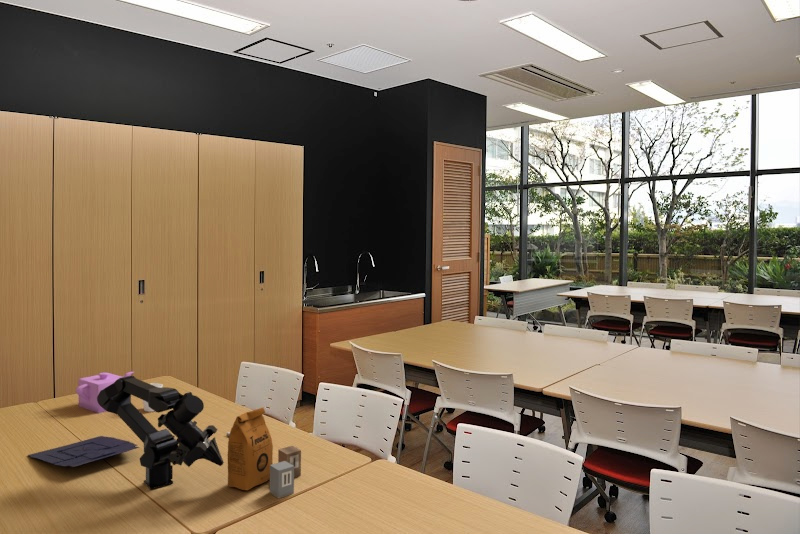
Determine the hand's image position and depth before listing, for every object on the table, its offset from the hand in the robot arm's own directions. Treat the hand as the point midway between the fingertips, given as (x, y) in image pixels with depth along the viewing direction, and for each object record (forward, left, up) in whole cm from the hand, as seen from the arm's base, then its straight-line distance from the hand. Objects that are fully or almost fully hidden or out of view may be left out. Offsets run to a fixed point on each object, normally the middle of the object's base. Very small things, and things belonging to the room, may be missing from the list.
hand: (222, 464), depth 170 cm
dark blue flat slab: (-24, +49, -8) cm, 55 cm away
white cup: (+10, +87, -7) cm, 88 cm away
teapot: (-3, +104, -7) cm, 104 cm away
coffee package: (+8, -2, -7) cm, 11 cm away
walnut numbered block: (+20, -4, -7) cm, 22 cm away
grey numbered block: (+12, -13, -7) cm, 19 cm away
